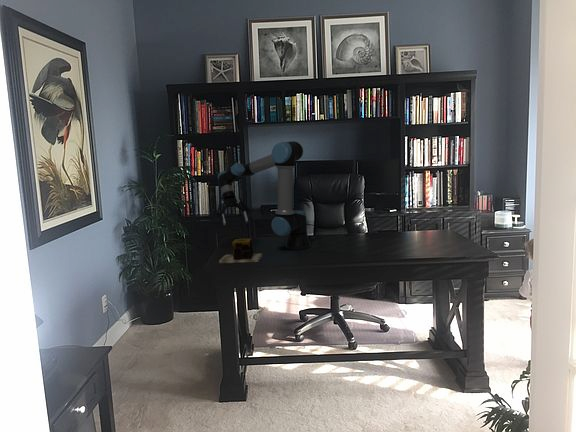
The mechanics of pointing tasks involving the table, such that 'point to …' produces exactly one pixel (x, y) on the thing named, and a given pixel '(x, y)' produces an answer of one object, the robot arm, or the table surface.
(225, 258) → the birch board
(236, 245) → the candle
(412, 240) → the table surface
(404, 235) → the table surface
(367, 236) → the table surface
